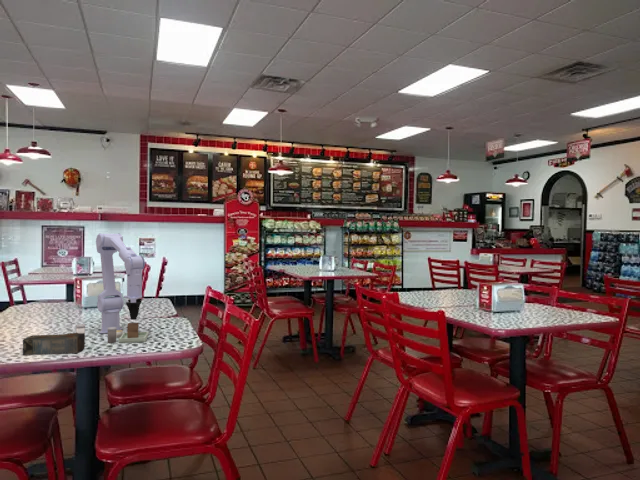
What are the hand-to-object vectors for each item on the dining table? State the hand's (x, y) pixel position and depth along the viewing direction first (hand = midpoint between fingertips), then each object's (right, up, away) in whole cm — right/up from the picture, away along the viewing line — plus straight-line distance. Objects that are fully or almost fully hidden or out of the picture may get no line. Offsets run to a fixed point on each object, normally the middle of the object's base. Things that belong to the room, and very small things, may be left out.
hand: (134, 317), depth 195 cm
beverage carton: (-21, -10, -21) cm, 31 cm away
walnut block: (-1, -9, 0) cm, 9 cm away
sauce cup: (-9, -9, +5) cm, 14 cm away
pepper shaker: (-7, -9, -5) cm, 13 cm away
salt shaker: (-22, -9, -1) cm, 24 cm away
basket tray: (0, -9, 0) cm, 9 cm away
